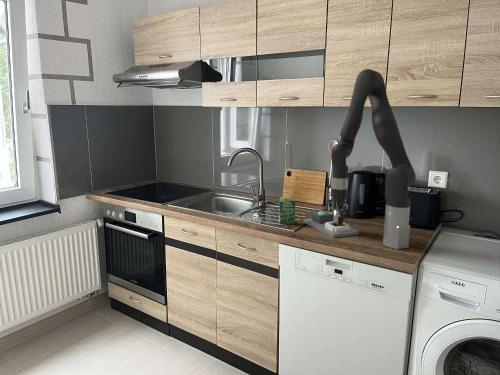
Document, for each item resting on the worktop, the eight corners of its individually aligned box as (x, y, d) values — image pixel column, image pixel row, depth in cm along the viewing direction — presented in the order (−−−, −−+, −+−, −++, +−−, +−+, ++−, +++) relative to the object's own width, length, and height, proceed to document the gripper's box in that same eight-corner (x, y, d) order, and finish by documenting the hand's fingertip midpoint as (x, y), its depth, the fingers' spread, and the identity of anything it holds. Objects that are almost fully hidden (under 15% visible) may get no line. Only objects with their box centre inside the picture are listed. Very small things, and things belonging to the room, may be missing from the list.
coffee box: (278, 224, 182) (279, 198, 179) (278, 222, 185) (278, 197, 182) (295, 224, 182) (295, 198, 179) (294, 222, 185) (295, 197, 182)
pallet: (358, 234, 167) (359, 222, 166) (333, 237, 162) (333, 226, 161) (326, 219, 191) (327, 209, 190) (303, 222, 186) (303, 211, 185)
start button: (328, 219, 181) (328, 213, 180) (320, 220, 179) (320, 214, 179) (323, 217, 185) (323, 211, 184) (315, 217, 183) (316, 212, 183)
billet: (343, 227, 170) (344, 210, 168) (336, 228, 168) (337, 211, 166) (338, 224, 173) (339, 208, 172) (331, 225, 172) (331, 209, 170)
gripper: (355, 189, 162) (353, 226, 165) (337, 183, 175) (335, 218, 178) (341, 190, 159) (339, 228, 162) (323, 184, 172) (322, 219, 175)
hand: (337, 222), depth 170 cm, fingers closed on billet, 4 cm apart
